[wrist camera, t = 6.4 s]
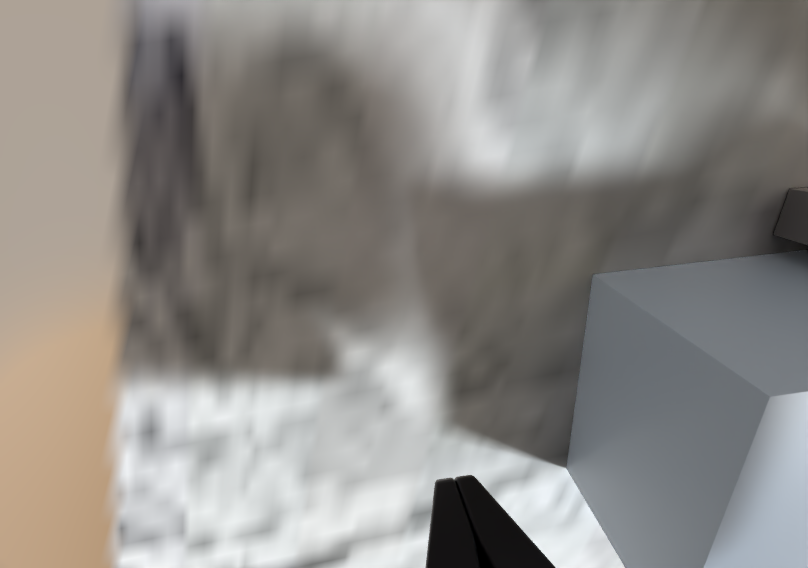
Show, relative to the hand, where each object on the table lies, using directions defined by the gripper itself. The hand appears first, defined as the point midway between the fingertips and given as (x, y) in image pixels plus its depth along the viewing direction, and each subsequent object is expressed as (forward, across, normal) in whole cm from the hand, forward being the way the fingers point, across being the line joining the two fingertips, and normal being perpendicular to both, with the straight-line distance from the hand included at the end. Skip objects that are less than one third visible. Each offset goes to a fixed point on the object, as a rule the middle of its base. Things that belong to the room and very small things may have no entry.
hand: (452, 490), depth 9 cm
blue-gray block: (+3, -8, 0) cm, 9 cm away
